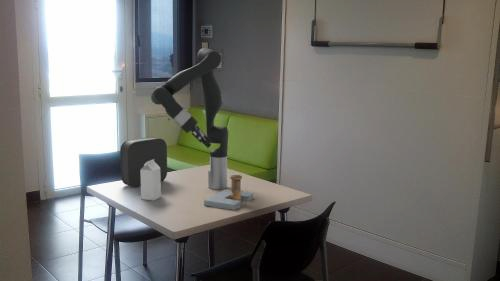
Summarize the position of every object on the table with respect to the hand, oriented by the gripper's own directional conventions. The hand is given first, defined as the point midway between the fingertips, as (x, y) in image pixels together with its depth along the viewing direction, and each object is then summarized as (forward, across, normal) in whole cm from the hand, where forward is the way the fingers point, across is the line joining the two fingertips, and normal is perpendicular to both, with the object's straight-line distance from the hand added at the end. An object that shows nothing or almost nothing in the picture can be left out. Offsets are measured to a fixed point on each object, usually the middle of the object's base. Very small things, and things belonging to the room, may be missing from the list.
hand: (210, 144), depth 227 cm
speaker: (-6, +34, +47) cm, 58 cm away
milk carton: (-1, +7, +41) cm, 41 cm away
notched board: (+27, +1, +13) cm, 30 cm away
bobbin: (+29, -1, +11) cm, 31 cm away
